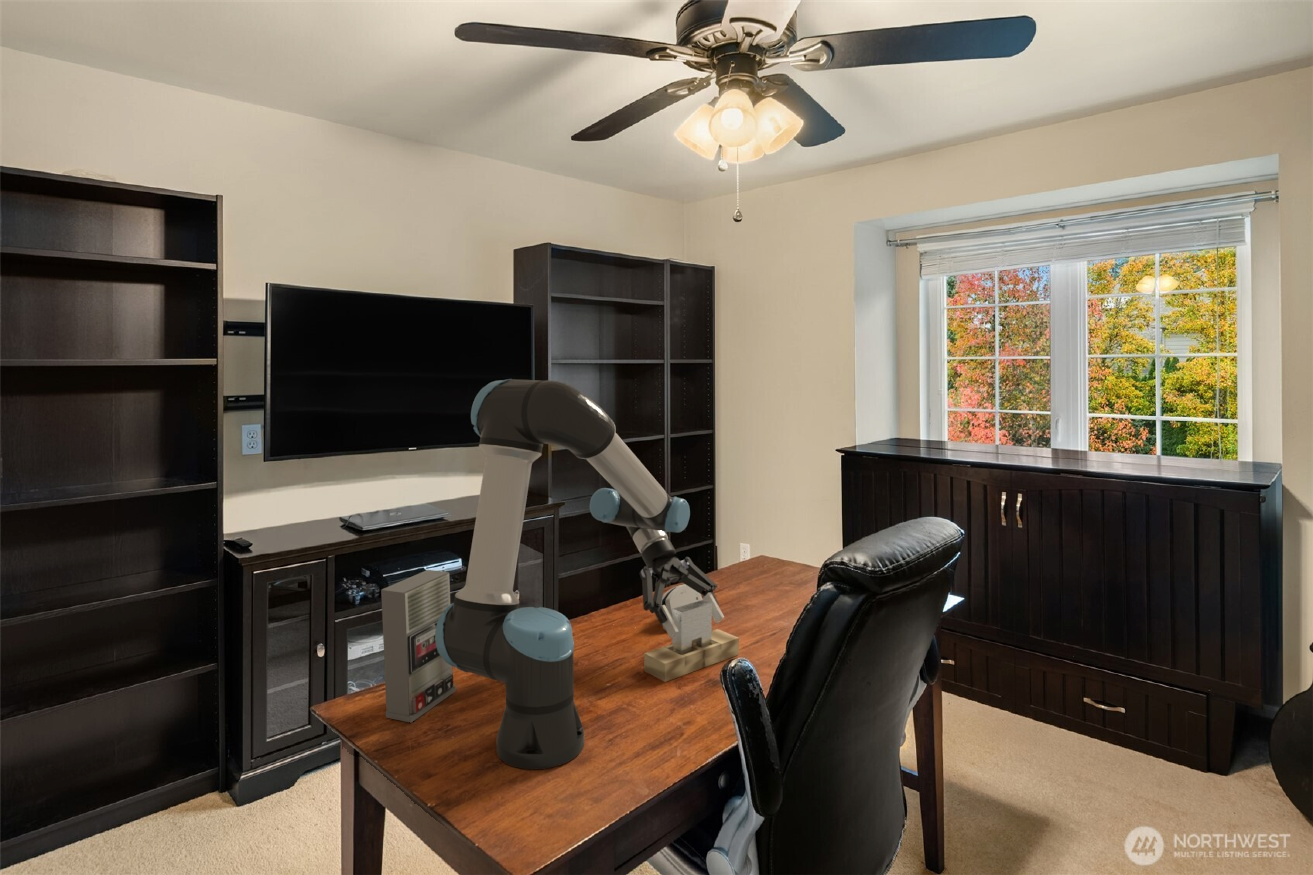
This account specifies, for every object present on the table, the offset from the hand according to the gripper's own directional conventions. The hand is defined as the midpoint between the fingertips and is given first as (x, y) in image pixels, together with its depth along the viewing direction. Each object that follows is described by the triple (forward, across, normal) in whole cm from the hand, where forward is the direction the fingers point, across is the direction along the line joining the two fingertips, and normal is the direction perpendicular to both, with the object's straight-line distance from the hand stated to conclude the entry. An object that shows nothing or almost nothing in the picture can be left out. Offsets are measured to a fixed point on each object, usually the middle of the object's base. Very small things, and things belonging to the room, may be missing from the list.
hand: (698, 627), depth 160 cm
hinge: (-10, -16, -22) cm, 29 cm away
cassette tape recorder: (-8, +54, -21) cm, 58 cm away
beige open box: (+5, 0, -7) cm, 9 cm away
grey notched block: (+5, 0, -7) cm, 9 cm away
